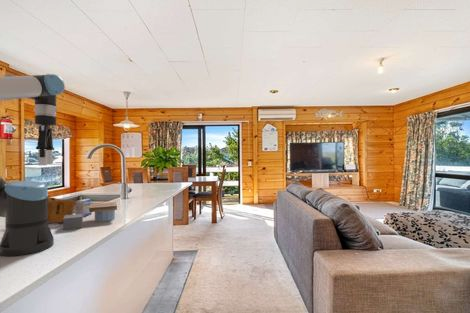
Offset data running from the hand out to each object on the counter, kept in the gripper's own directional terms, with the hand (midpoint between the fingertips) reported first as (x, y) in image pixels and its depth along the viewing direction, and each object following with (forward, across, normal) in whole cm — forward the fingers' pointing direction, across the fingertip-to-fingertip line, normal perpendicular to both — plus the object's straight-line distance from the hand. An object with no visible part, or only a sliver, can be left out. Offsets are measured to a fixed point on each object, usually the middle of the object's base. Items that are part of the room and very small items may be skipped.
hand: (45, 164), depth 112 cm
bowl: (+29, +11, -23) cm, 38 cm away
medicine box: (+29, +25, -13) cm, 40 cm away
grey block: (+29, +2, -10) cm, 30 cm away
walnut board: (+23, +11, -22) cm, 34 cm away
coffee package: (+22, +23, +9) cm, 33 cm away
